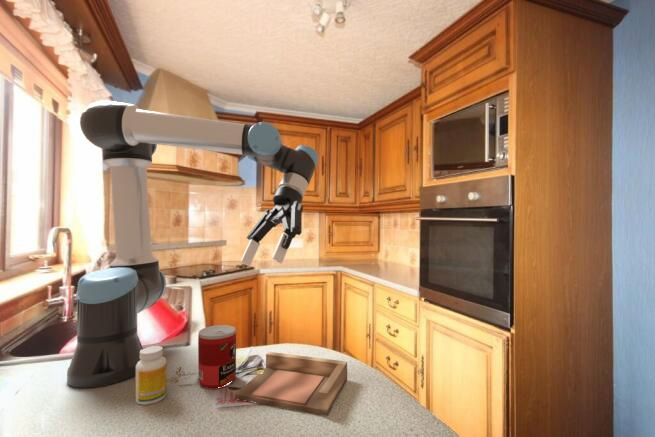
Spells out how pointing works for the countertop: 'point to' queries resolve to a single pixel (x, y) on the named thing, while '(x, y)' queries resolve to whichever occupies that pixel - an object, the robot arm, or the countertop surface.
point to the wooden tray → (297, 383)
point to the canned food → (216, 356)
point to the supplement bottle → (150, 376)
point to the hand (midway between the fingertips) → (260, 262)
